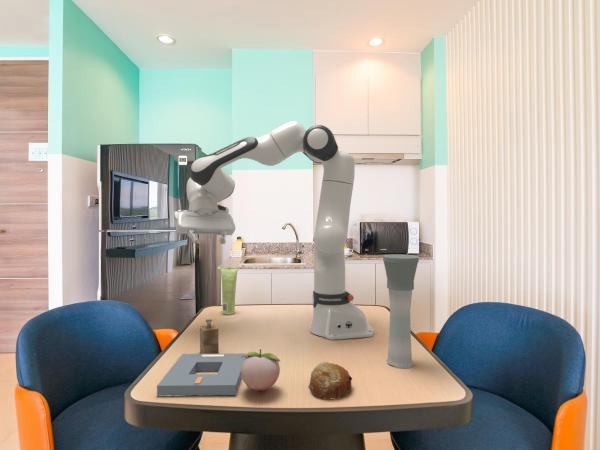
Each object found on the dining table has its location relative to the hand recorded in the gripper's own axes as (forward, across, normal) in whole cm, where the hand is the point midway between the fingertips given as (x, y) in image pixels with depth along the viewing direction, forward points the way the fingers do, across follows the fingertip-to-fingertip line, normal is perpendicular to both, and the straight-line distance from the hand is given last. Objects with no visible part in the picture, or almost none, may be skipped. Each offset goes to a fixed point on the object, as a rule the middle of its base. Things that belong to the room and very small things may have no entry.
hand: (209, 242), depth 117 cm
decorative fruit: (+52, 0, -10) cm, 53 cm away
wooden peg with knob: (+34, -3, +11) cm, 35 cm away
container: (+55, +40, -17) cm, 70 cm away
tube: (+8, +18, +38) cm, 43 cm away
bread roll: (+57, +15, -17) cm, 61 cm away
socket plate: (+43, -8, 0) cm, 44 cm away
